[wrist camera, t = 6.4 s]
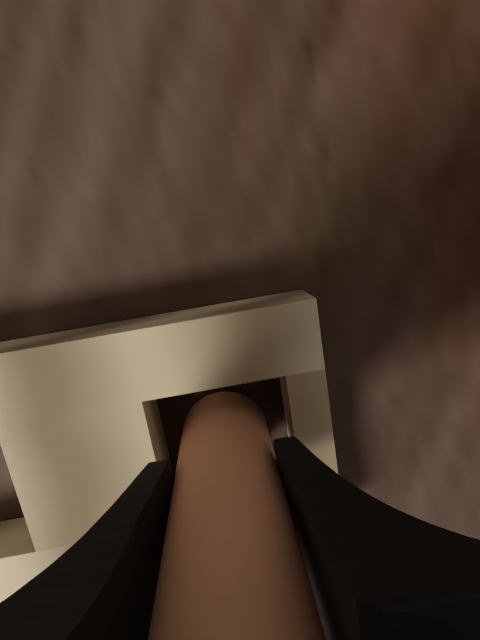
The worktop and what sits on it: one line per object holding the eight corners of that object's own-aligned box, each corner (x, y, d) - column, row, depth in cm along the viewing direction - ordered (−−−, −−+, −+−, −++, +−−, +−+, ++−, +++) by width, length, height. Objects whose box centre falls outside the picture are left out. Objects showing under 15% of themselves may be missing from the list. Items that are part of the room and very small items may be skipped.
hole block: (301, 289, 14) (316, 298, 12) (331, 511, 16) (347, 550, 14) (-163, 370, 13) (-228, 393, 11) (-74, 588, 15) (-116, 639, 13)
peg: (220, 374, 14) (228, 623, 5) (283, 424, 14) (395, 730, 5) (165, 436, 14) (83, 772, 5) (229, 483, 15) (252, 858, 6)
